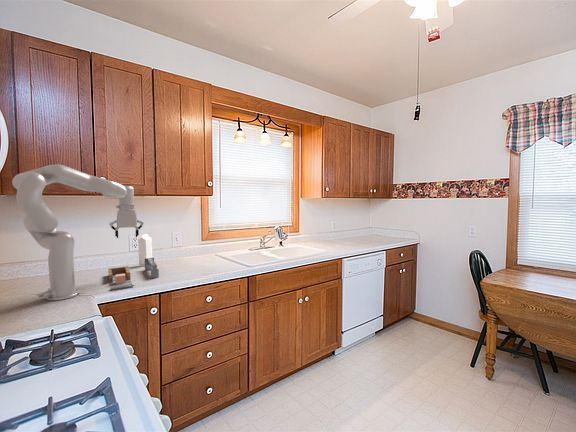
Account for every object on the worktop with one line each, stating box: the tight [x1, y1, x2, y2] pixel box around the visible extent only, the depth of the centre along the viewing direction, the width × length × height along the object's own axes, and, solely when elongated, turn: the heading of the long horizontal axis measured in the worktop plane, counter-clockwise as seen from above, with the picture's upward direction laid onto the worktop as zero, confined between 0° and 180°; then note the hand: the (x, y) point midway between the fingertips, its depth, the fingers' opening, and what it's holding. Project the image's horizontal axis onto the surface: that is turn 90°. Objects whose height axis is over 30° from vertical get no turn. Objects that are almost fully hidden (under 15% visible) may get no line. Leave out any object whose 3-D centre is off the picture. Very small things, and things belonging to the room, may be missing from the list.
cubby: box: [107, 266, 134, 292], centre depth 160 cm, size 30×10×5 cm, turn 34°
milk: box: [137, 233, 154, 268], centre depth 194 cm, size 6×6×22 cm
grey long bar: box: [144, 257, 160, 279], centre depth 173 cm, size 22×5×8 cm, turn 33°
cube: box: [115, 273, 126, 285], centre depth 155 cm, size 4×4×4 cm
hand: (127, 237), depth 165 cm, fingers open, 9 cm apart
